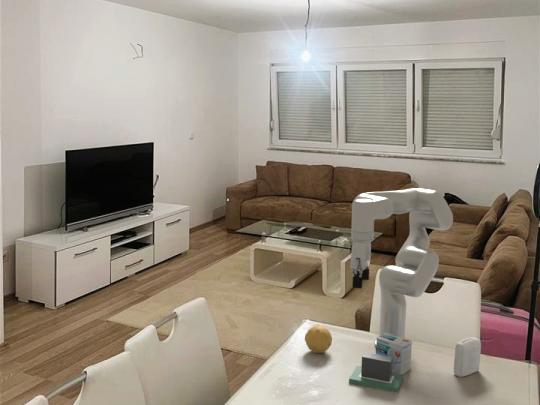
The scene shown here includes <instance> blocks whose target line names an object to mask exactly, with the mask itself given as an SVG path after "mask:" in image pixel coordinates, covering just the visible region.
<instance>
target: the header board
mask: <svg viewBox="0 0 540 405" xmlns="http://www.w3.org/2000/svg"><path fill="white" fill-rule="evenodd" d="M361 368H362V366H359V365H356V367H355V368H354V370H353V372H352V374H351V375H350V376H349V378H348V383H349V384H353V385H358V386H364V387H368V388H372V389H376V390H377V389H378V390H382V391H388V392H392V393H396V394H397V393H398V392H399V390H400V389H401V386H402V383H403V381H404V374H402V375H401V374H396V373H393V372H392V377H391V379H390V382H386V381H382V380H377V379H372V378H367V377H362V376H361Z"/></svg>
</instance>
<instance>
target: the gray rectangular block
mask: <svg viewBox="0 0 540 405" xmlns="http://www.w3.org/2000/svg"><path fill="white" fill-rule="evenodd" d="M392 363H393V357H389V356H384V355H379V354H376V353H372V352H367V351H365V352H364V353H363V355H362V356H361V367H362V368H361V376H362V377H367V378H372V379H377V380H382V381H386V382H390V379H391V377H392V373H393V372H392Z"/></svg>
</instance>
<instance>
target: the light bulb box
mask: <svg viewBox="0 0 540 405" xmlns="http://www.w3.org/2000/svg"><path fill="white" fill-rule="evenodd" d="M375 341H376V347H375V354H379V355H384V356H389V357H393V363H392V373H396V374H401V375H404V374H406V373H408V372H409V371H410V370H411V364H412V363H411V361H412V347H413V346H412V344H413V340H411V339H408V338H406V337H405V338H402V337H399V336H396V335H393V334H390V333H384V334H383V335H381V336H379V335H378V336H377V337H376V340H375Z"/></svg>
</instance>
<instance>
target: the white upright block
mask: <svg viewBox="0 0 540 405" xmlns="http://www.w3.org/2000/svg"><path fill="white" fill-rule="evenodd" d="M481 349H482V343H481V340H480V339H479V338H477V337H475V336H474V337H472V336H471V337H467V338H464V339H462V340H460V341H459V342H458V343H457V344H455V348H454V362H453V373H454V375H455V376H456V377H461V378H462V377H466V376H467V377H468V376H469V375H472V374H474V373H477V372H478V371H479V370H480V364H481V361H480V360H481V353H482V350H481Z"/></svg>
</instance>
